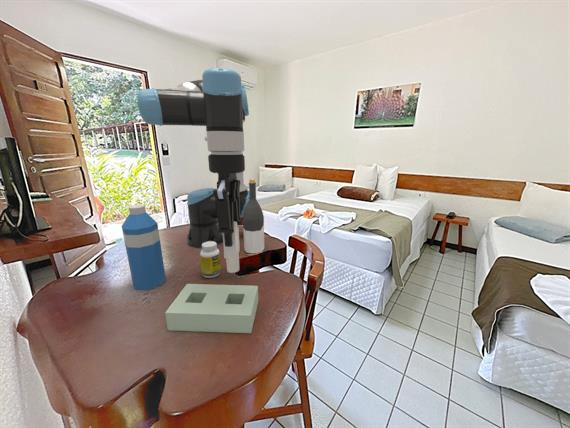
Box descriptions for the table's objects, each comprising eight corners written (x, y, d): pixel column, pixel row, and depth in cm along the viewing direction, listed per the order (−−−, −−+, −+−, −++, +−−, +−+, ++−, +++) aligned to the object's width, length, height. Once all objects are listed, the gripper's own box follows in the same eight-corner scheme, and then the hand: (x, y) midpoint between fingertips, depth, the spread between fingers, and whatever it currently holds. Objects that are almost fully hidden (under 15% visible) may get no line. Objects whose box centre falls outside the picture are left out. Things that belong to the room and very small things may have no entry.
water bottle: (172, 278, 80) (161, 204, 73) (146, 293, 72) (131, 212, 64) (152, 271, 84) (141, 201, 76) (125, 286, 75) (109, 208, 68)
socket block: (188, 299, 69) (186, 283, 68) (258, 301, 69) (258, 285, 67) (167, 330, 58) (165, 312, 57) (251, 333, 57) (250, 315, 56)
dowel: (228, 266, 61) (225, 220, 57) (240, 266, 61) (238, 220, 57) (225, 272, 58) (222, 224, 54) (237, 272, 58) (235, 225, 54)
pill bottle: (215, 279, 79) (213, 248, 76) (198, 277, 80) (195, 246, 77) (224, 270, 85) (222, 241, 82) (207, 268, 86) (205, 239, 83)
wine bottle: (245, 248, 102) (242, 177, 94) (264, 248, 103) (263, 177, 94) (243, 257, 95) (239, 180, 86) (263, 257, 95) (262, 180, 86)
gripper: (219, 151, 59) (225, 241, 66) (194, 154, 44) (205, 270, 51) (250, 152, 59) (253, 241, 65) (235, 155, 44) (240, 271, 50)
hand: (232, 254), depth 58 cm, fingers closed on dowel, 3 cm apart
